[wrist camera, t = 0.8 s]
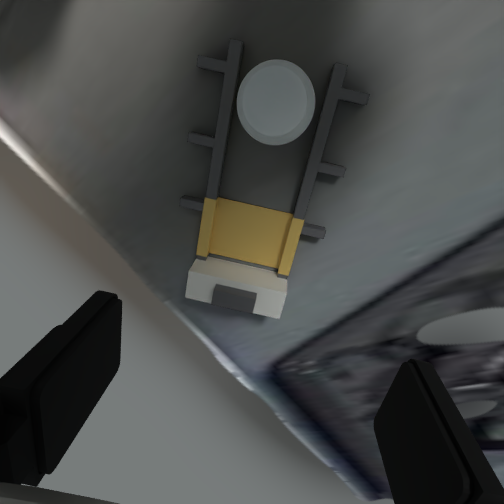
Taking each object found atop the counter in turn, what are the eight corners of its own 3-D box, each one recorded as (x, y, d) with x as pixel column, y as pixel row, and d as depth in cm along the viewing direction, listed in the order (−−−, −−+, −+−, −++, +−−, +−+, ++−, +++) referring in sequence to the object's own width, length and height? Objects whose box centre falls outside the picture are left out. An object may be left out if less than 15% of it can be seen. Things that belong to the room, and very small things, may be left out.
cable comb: (204, 35, 27) (186, 17, 22) (373, 73, 27) (392, 64, 22) (174, 273, 36) (157, 298, 31) (300, 302, 36) (303, 331, 31)
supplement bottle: (312, 132, 29) (325, 139, 20) (253, 145, 30) (241, 158, 21) (303, 64, 27) (312, 39, 18) (240, 80, 28) (220, 64, 19)
